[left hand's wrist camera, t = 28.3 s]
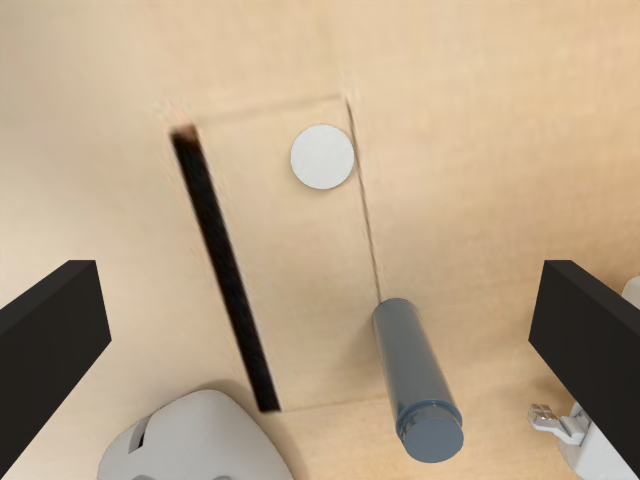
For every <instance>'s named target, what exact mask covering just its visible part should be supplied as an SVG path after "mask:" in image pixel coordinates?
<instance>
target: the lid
mask: <svg viewBox="0 0 640 480" xmlns="http://www.w3.org/2000/svg"><path fill="white" fill-rule="evenodd" d="M290 158H291V165H292V168H293V171H294V173H295V174H296V176H297V177H298V178H299V180H301V181H302V182H303V183H304V184H306V185H308V186H309V187H312V188H316V189H329V188H332V187H335V186H337V185H339V184H340V183H342V182H343V181H344V180H345V179H346V178H347V177H348V175H349V174H350V172H351V170H352V168H353V164H354V150H353V147H352V144H351V142H350V140H349V138H348V137H347V135H346V134H345V133H344V132H343V131H342V130H340V129H339V128H337V127H336V126H333V125H330V124H315V125H311V126H309V127H307V128H306V129H304V130H303V131H302V132H301V133H300V134H299V135H298V136H297V138H296V139H295V141H294V144H293V146H292V149H291V156H290Z"/></svg>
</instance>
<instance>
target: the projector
mask: <svg viewBox="0 0 640 480" xmlns="http://www.w3.org/2000/svg"><path fill="white" fill-rule="evenodd" d="M97 480H294V479H293V477H292V475H291V473H290V471H289V469H288V467H287V465H286V464H285V462H284V460H283V458H282V457H281V455H280V454H279V452H278V451H277V449H276V448H275V446H274V445H273V444H272V442H271V441H270V440H269V438H268V437H267V436H266V434H265V433H264V432H263V431H262V430H261V428H260V427H259V426H258V425H257V424H256V422H255V421H254V420H253V419H252V418H251V417H250V416H249V415H248V414H247V412H246V411H245V410H244V409H243V408H242V407H240V406H239V405H238V404H237V403H236V402H235V401H234V400H233V399H231V398H230V397H229V396H227V395H226V394H224V393H222V392H220V391H216V390H201V391H196V392H193V393H190V394H188V395H185V396H183V397H181V398H179V399H177V400H175V401H173V402H172V403H170V404H168V405H166V406H165V407H163V408H161V409H159V410H158V411H156V412H155V413H154V414H153V416H150V417H147V418H144V419H143V420H141V421H139V422H138V423H136V424H135V425H133V426H132V427H130V428H128V429H127V430H126V431H124V432H123V433H122V434H120V435H119V436H118V437H117V438H116V439H115V440H114V441H113V442H112V443H111V444H110V445H109V447H108V448H107V450H106V451H105V453H104V455H103V457H102V459H101V462H100V465H99V469H98V475H97Z"/></svg>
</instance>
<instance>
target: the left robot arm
mask: <svg viewBox="0 0 640 480" xmlns="http://www.w3.org/2000/svg"><path fill="white" fill-rule="evenodd" d="M111 341H112V339H111V334H110V330H109V325H108V320H107V315H106V310H105V305H104V300H103V295H102V291H101V286H100V281H99V276H98V271H97V266H96V261H95V260H69V261H67V262H66V263H64V264H63V265H62V266H60V267H59V268H57V269H56V270H55V271H53V272H52V273H50V274H49V275H48V276H46V277H45V278H44V279H42V280H41V281H39V282H38V283H37V284H35V285H34V286H32V287H31V288H30V289H28V290H27V291H25V292H24V293H23V294H21V295H20V296H19V297H17V298H16V299H14V300H13V301H12V302H10V303H9V304H7V305H6V306H5V307H3V308H2V309H0V480H1V479H2V477H3V476H4V475H5V474H6V472H7V471H8V470H9V469H10V467H11V466H12V465H13V464H14V462H15V461H16V460H17V459H18V457H19V456H20V455H21V454H22V452H23V451H24V450H25V449H26V447H27V446H28V445H29V444H30V442H31V441H32V440H33V439H34V437H35V436H36V435H37V434H38V432H39V431H40V430H41V429H42V427H43V426H44V425H45V424H46V422H47V421H48V420H49V418H50V417H51V416H52V415H53V413H54V412H55V411H56V410H57V408H58V407H59V406H60V405H61V403H62V402H63V401H64V400H65V398H66V397H67V396H68V395H69V393H70V392H71V391H72V390H73V388H74V387H75V386H76V385H77V383H78V382H79V381H80V380H81V378H82V377H83V376H84V375H85V373H86V372H87V371H88V370H89V368H90V367H91V366H92V365H93V363H94V362H95V361H96V360H97V358H98V357H99V356H100V355H101V353H102V352H103V351H104V350H105V348H106V347H107V346H108V345H109V343H110V342H111ZM528 341H529V342H530V343H531V345H532V346H533V347H534V348H535V350H536V351H537V352H538V353H539V355H540V356H541V357H542V358H543V360H544V361H545V362H546V363H547V365H548V366H549V367H550V368H551V370H552V371H553V372H554V373H555V375H556V376H557V377H558V378H559V380H560V381H561V382H562V383H563V385H564V386H565V387H566V388H567V390H568V391H569V392H570V393H571V395H572V396H573V397H574V398H575V400H576V401H577V402H578V403H579V405H580V406H581V407H582V408H583V410H584V411H585V412H586V413H587V415H588V416H589V417H590V418H591V420H592V421H593V422H594V424H595V425H596V426H597V427H598V429H599V430H600V431H601V432H602V434H603V435H604V436H605V437H606V439H607V440H608V441H609V442H610V444H611V445H612V446H613V447H614V449H615V450H616V451H617V452H618V454H619V455H620V456H621V457H622V459H623V460H624V461H625V462H626V464H627V465H628V466H629V467H630V469H631V470H632V471H633V472H634V474H635V475H636V476H637V477H638V479H639V480H640V309H638V308H637V307H635V306H634V305H633V304H631V303H630V302H628V301H627V300H626V299H624V298H623V297H621V296H620V295H619V294H617V293H616V292H615V291H613V290H612V289H610V288H609V287H608V286H606V285H605V284H603V283H602V282H601V281H599V280H598V279H596V278H595V277H594V276H592V275H591V274H589V273H588V272H587V271H585V270H584V269H583V268H581V267H580V266H578V265H577V264H576V263H574V262H573V261H571V260H545V261H544V266H543V271H542V276H541V281H540V286H539V291H538V295H537V300H536V305H535V310H534V315H533V320H532V325H531V330H530V334H529V339H528Z"/></svg>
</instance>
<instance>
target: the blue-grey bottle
mask: <svg viewBox="0 0 640 480" xmlns="http://www.w3.org/2000/svg"><path fill="white" fill-rule="evenodd" d="M372 322H373V327H374V332H375V336H376V341H377V345H378V350H379V355H380V359H381V364H382V369H383V373H384V378H385V382H386V387H387V392H388V396H389V401H390V406H391V410H392V415H393V419H394V424H395V429H396V433H397V435H398V437H399V439H400V440H401V441H402V444H403V445H404V447H405V449H406V451H407V453H408V454H409V455H410V456H411V457H412V458H414V459H416V460H418V461H421V462H425V463H437V462H442V461H445V460H447V459H449V458H451V457H453V456H454V455H455V454H456V453H457V452H458V451H460V449H461V447H462V445H463V439H464V436H463V432H462V429H461V428H462V417H461V414H460V412H459V409H458V407H457V404H456V402H455V400H454V397H453V395H452V393H451V390H450V388H449V385H448V383H447V381H446V378H445V376H444V374H443V371H442V369H441V366H440V364H439V362H438V359H437V357H436V354H435V352H434V350H433V347H432V345H431V343H430V340H429V338H428V335H427V333H426V331H425V328H424V326H423V324H422V321H421V319H420V316H419V314H418V312H417V309H416V308H415V306H414V305H413V304H412V303H410V302H409V301H407V300H404V299H399V298H394V299H389V300H386V301H384V302H383V303H381V304H380V305H379V306H378V307H377V308H376V309H375V311H374V313H373V317H372Z"/></svg>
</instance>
